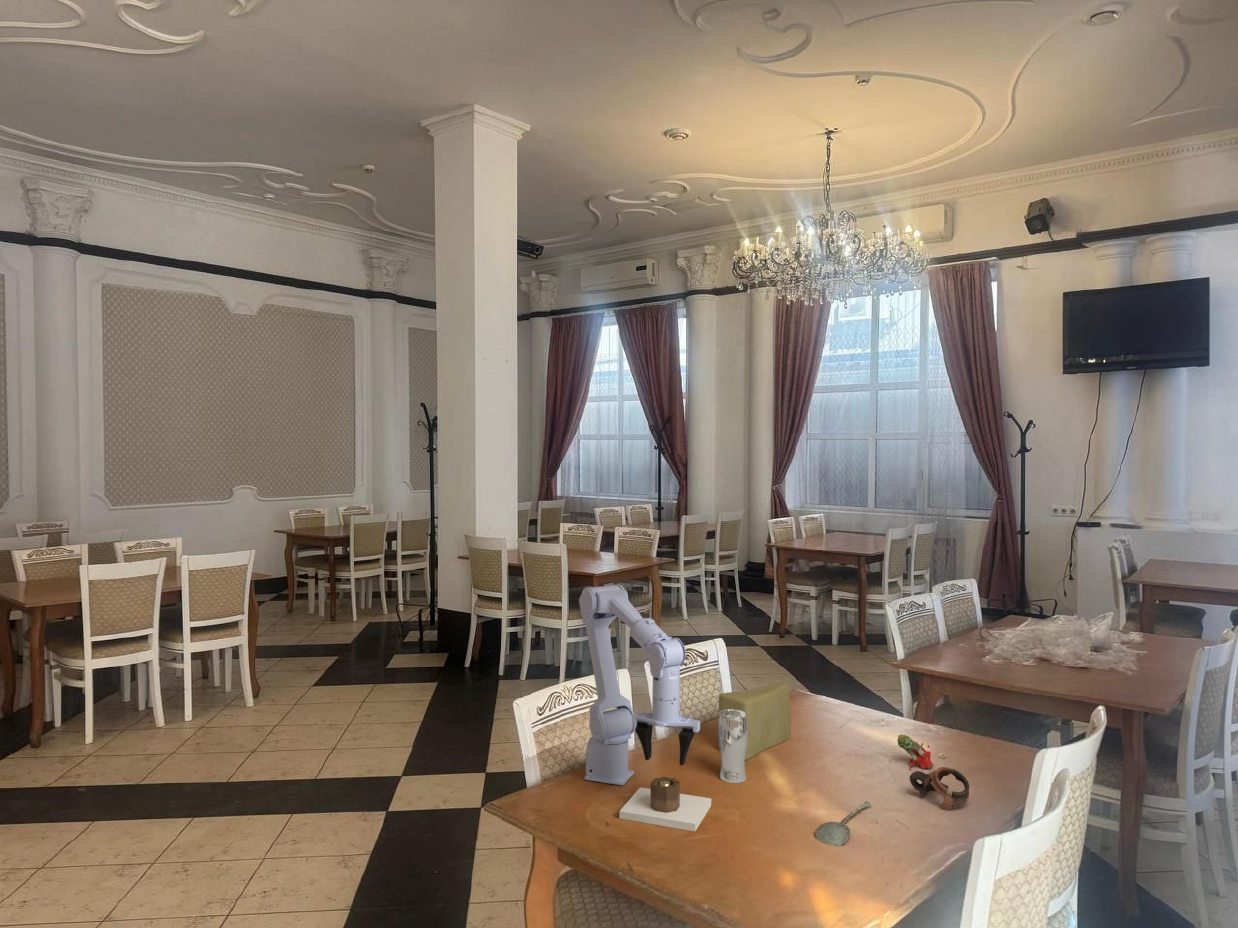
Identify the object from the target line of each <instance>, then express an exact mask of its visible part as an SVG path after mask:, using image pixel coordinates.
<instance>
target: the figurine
mask: <svg viewBox="0 0 1238 928" xmlns="http://www.w3.org/2000/svg"><path fill="white" fill-rule="evenodd" d="M896 741H897V745H898V746H899V747H900V749H903V750H904V751H905V752H906V753H907V754H909V755H910V759H909V762H910V764H909V771H912V768H911V767H914V766H915V765H918V766H919V767H920V768H921V770H922V771H923V770H926V769H929V768H931V767H933V766H934V764H933V762H932V761H931V756H932V751H927V750H926V749H925V748H924V747H923V745H924V742H922V743H921V744H919V743H918V742H917V741H916V740H913V739H912V738H911V737H910V736H908V735H906V734H898V737H897V740H896ZM927 748H928V749H929V748H930V745H929V744H928V745H927Z"/></svg>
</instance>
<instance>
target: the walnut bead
mask: <svg viewBox="0 0 1238 928" xmlns="http://www.w3.org/2000/svg"><path fill="white" fill-rule="evenodd" d="M661 781H669V782H670V786H661V785H660V782H661ZM650 789H651V803H650V807H652V808H653V809H654V810H655V811H658V812H664V813H668V812H674V811H677V809H678V808H679V807H680V794H681V781H679V780H677V779H676V778H674V777H667V776H661V777H656V778H653V779H652V781H650Z"/></svg>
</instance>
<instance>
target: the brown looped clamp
mask: <svg viewBox="0 0 1238 928" xmlns="http://www.w3.org/2000/svg"><path fill="white" fill-rule="evenodd" d="M949 775H952V776H953V777H954V778H955V780H957V781H958V782H961V783H962V784H963V786H964V789H963V790H962V791H953V790H952V792H951V794H948V793H947V792H948V789H949V786H948V785H947V784H944V783H943V782H941V781H942V779H943V778H944V777H948V776H949ZM909 781H910V784H911V786H912V788H914V789H915V790H917V791H918V792H919V794H920V796H921V797H925V796H926V795H927V793H930V792H937V793H938V794H939V796H941V797H942V798H943V801H942V803H941V804H940V807H941V808H942V809H943V810H945V811H949V810H950V809H952V807H953V808H954V807H957V806H961V805H963V804H964V803H966V802H967V801H968V799H969V798H970V797H969V796H970V791H969V790H970V784H969V781H968V779H967V778H966V776H964V774H962V773H961V772H960V771H958V770H956V769H954V768H952V767H946V766H942V767H938V768H937V769H935V770H933V771H931V772H929V773H925V772H923V771H920V770H919V771H918V770H915V771H913V772H911V774H910V776H909ZM919 781H920V782H921V783H919Z"/></svg>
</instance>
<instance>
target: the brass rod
mask: <svg viewBox="0 0 1238 928" xmlns="http://www.w3.org/2000/svg"><path fill="white" fill-rule="evenodd" d="M660 785H661V786H670V782H669V781H661V782H660Z"/></svg>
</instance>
